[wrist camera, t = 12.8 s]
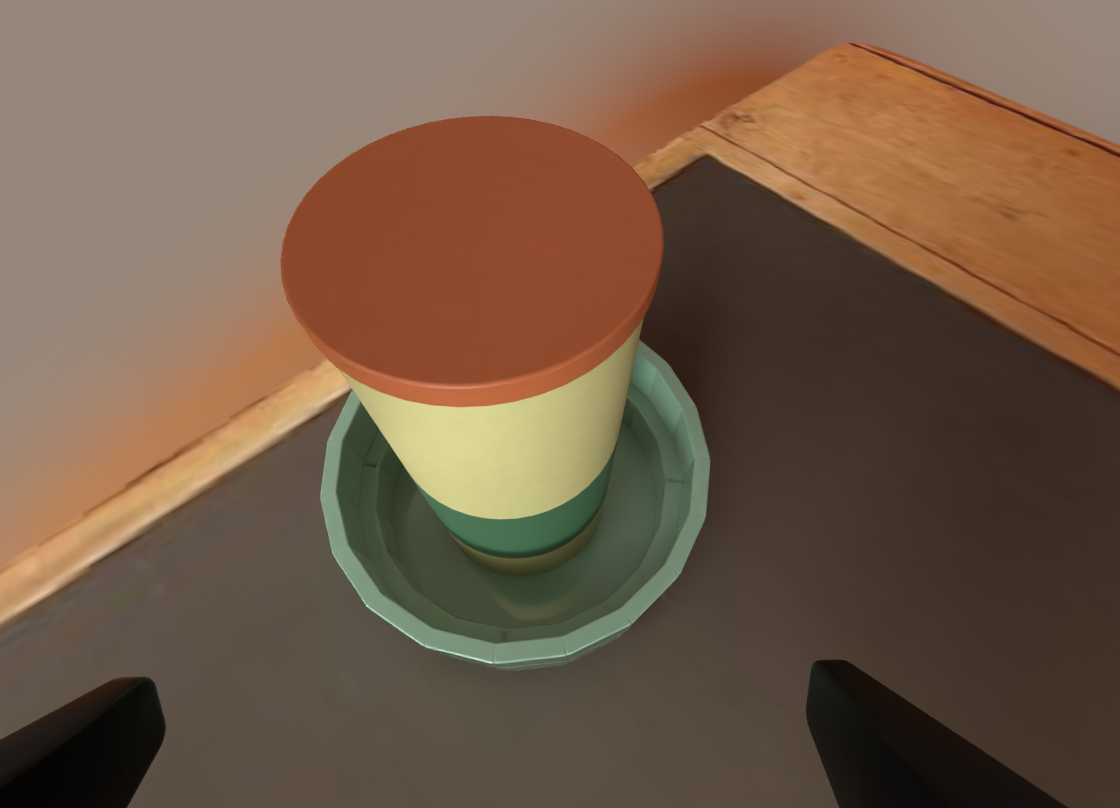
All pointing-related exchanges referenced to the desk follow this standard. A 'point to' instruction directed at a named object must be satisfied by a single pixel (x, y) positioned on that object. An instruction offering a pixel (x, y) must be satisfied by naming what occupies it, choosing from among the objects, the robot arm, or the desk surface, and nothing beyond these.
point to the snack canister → (485, 318)
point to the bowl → (528, 600)
